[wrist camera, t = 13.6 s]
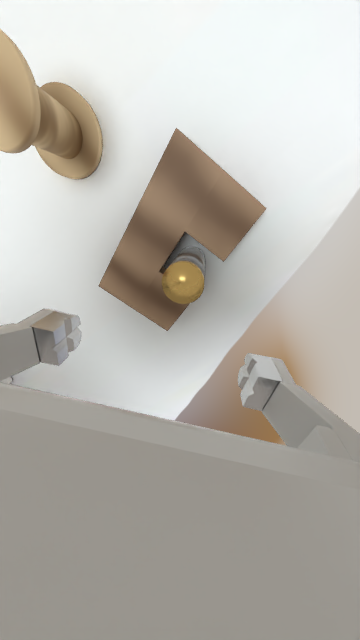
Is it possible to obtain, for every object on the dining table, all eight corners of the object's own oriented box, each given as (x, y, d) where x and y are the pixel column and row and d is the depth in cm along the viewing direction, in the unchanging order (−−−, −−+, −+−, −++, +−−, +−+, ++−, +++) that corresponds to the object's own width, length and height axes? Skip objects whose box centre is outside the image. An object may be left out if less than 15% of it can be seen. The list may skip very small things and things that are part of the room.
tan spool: (87, 193, 25) (24, 181, 16) (29, 150, 24) (-76, 110, 15) (113, 123, 22) (49, 58, 13) (46, 66, 20) (-79, -51, 11)
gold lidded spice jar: (189, 280, 29) (180, 311, 19) (171, 259, 28) (152, 281, 18) (210, 262, 27) (213, 286, 18) (192, 240, 26) (184, 252, 17)
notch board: (170, 321, 32) (167, 331, 30) (107, 280, 30) (98, 285, 28) (259, 209, 24) (266, 208, 21) (179, 138, 21) (176, 127, 19)
